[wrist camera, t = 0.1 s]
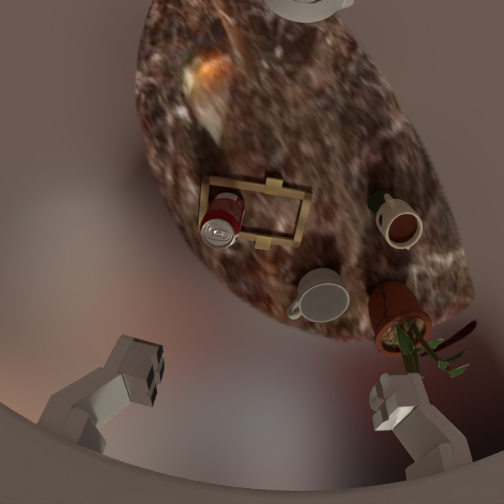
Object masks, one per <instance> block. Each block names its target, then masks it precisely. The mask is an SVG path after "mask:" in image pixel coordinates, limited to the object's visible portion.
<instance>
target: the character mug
mask: <svg viewBox="0 0 504 504" xmlns="http://www.w3.org/2000/svg"><path fill="white" fill-rule="evenodd" d="M368 208H369V209H370V210H371V211H372V212H373V213H374V214H375V215H376V217H375V216H374V215H373V214H372V213H371V212H370V213H371V214H372V215H373V216H374V217H375V218H376V223H377V226H378V228H379V230H380V231H381V233H382V234H383V236H384V237H385V239H386V240H387V242H388V243H389V244H390V245H391V246H392V247H394V248H396V249H405V248H406V249H407V250H409V249H410V247H411V246H412V245H414V244H415V243H416V242H417V241H418V239H419V238H420V236H421V234H422V230H423V224H422V220H421V219H420V217H419V215H418V214H417V213H416V212H415V211H414V210H413V209H412V208H411V207H410V206H409V205H408V204H407V203H406V202H404V201H402V200H401V199H397V197H396V196H395V195H394V193H392V192H391V191H390V190H387V189H381V190H377V191H376V192H374V193H373V194H371V196H370V198H369V200H368Z"/></svg>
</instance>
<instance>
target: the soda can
mask: <svg viewBox="0 0 504 504" xmlns="http://www.w3.org/2000/svg"><path fill="white" fill-rule="evenodd" d="M244 212H245V206H244V203H243V201H242V199H241V198H240V197H239V196H237V195H236V194H234V193H230V192H224V193H220V194H218V195H217V196H216V197H215V198H214V199H213V200H212V202H211V204H210V206H209V208H208V209H207V211H206V213H205V215H204V217H203V219H202V221H201V223H200V233H201V236H202V239H203V241H204V242H205V243H206V244H207V245H208V246H209V247H211V248H214V249H224V248H227V247H229V246H230V245H232V244H233V243H234V242H235V241H236V240H237V238H238V236H239V233H240V229H241V225H242V221H243V217H244Z"/></svg>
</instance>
